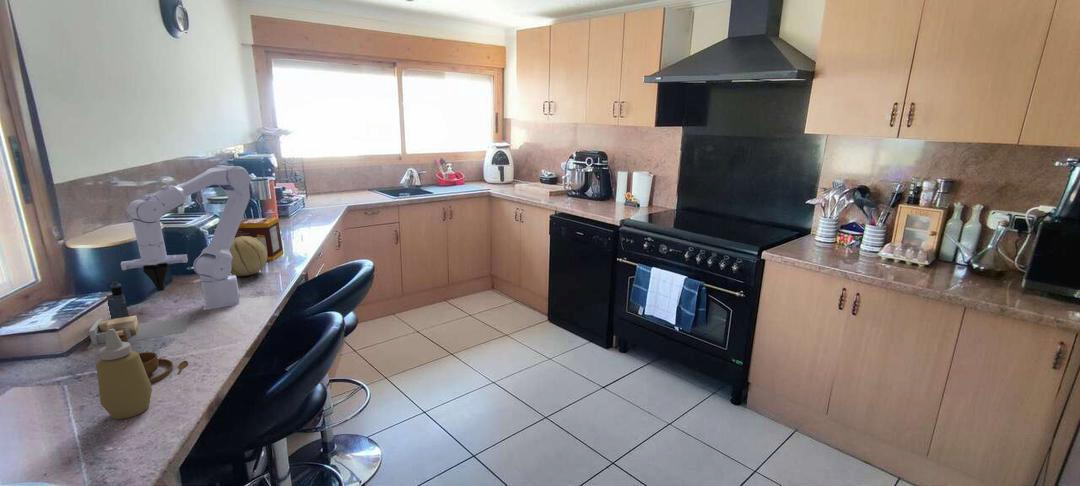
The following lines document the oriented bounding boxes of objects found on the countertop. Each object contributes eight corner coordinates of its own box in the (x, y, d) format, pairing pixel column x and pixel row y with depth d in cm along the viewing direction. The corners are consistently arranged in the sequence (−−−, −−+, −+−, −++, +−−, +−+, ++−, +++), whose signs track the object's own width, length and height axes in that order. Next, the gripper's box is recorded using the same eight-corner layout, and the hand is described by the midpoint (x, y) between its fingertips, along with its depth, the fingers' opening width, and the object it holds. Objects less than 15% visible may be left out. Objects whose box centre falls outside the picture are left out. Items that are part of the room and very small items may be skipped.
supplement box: (245, 254, 206) (239, 218, 202) (283, 253, 208) (278, 217, 203) (233, 261, 196) (226, 223, 192) (273, 260, 198) (268, 223, 193)
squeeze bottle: (124, 400, 103) (104, 321, 98) (165, 398, 103) (147, 320, 99) (94, 424, 95) (70, 340, 90) (138, 422, 96) (117, 338, 91)
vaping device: (123, 323, 140) (113, 283, 136) (108, 321, 141) (98, 282, 137) (132, 319, 142) (123, 280, 139) (117, 318, 143) (108, 279, 140)
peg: (139, 328, 135) (136, 315, 134) (136, 334, 131) (133, 320, 130) (104, 334, 131) (100, 320, 130) (100, 340, 128) (96, 326, 127)
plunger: (128, 335, 131) (126, 327, 130) (124, 341, 127) (123, 333, 127) (115, 337, 129) (113, 329, 129) (112, 343, 126) (110, 335, 125)
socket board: (190, 317, 143) (187, 303, 142) (185, 333, 133) (182, 318, 132) (100, 332, 134) (96, 317, 132) (87, 351, 124) (82, 334, 122)
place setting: (80, 400, 104) (73, 375, 102) (118, 357, 122) (112, 335, 120) (179, 383, 110) (174, 360, 109) (200, 345, 128) (196, 324, 126)
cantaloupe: (277, 272, 183) (271, 234, 179) (236, 284, 171) (229, 243, 167) (256, 266, 190) (250, 228, 186) (215, 276, 178) (208, 237, 174)
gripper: (113, 250, 127) (125, 299, 131) (181, 243, 134) (190, 289, 138) (120, 244, 133) (131, 290, 137) (184, 237, 140) (193, 282, 144)
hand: (161, 289), depth 138 cm, fingers closed
